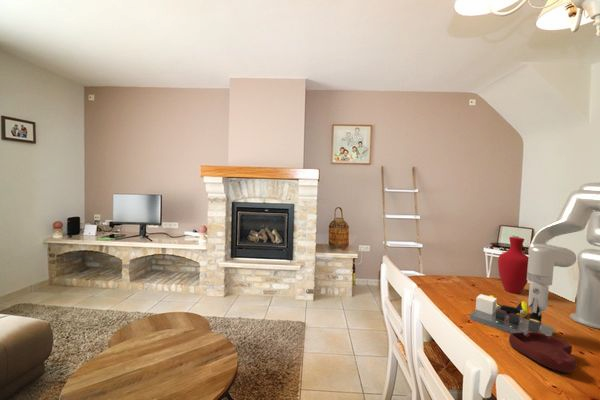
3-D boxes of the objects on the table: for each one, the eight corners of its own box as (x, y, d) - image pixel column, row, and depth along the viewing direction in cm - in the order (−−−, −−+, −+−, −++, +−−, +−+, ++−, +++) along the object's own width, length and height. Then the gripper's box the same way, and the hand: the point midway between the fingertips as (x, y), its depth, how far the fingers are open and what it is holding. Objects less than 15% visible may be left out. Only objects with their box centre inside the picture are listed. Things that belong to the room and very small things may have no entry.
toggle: (539, 329, 105) (540, 320, 105) (538, 332, 103) (539, 323, 103) (529, 326, 107) (530, 317, 107) (528, 329, 105) (528, 320, 105)
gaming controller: (486, 304, 132) (489, 312, 123) (487, 293, 132) (490, 300, 123) (526, 312, 125) (532, 322, 116) (527, 301, 125) (533, 309, 116)
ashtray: (509, 336, 104) (510, 323, 104) (569, 354, 94) (570, 340, 93) (507, 357, 90) (508, 343, 90) (576, 382, 80) (578, 365, 80)
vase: (490, 288, 155) (494, 235, 153) (505, 285, 161) (509, 234, 159) (520, 298, 141) (524, 241, 140) (535, 294, 147) (540, 239, 146)
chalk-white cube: (495, 310, 121) (496, 298, 121) (492, 314, 117) (493, 302, 116) (479, 305, 125) (480, 294, 125) (475, 309, 121) (476, 297, 121)
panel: (553, 332, 108) (554, 318, 107) (548, 346, 98) (550, 331, 97) (480, 309, 126) (481, 297, 126) (469, 319, 116) (470, 306, 116)
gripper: (549, 285, 99) (545, 334, 100) (554, 277, 109) (550, 322, 110) (523, 279, 104) (519, 326, 105) (530, 272, 114) (526, 315, 115)
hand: (535, 324), depth 108 cm, fingers closed
